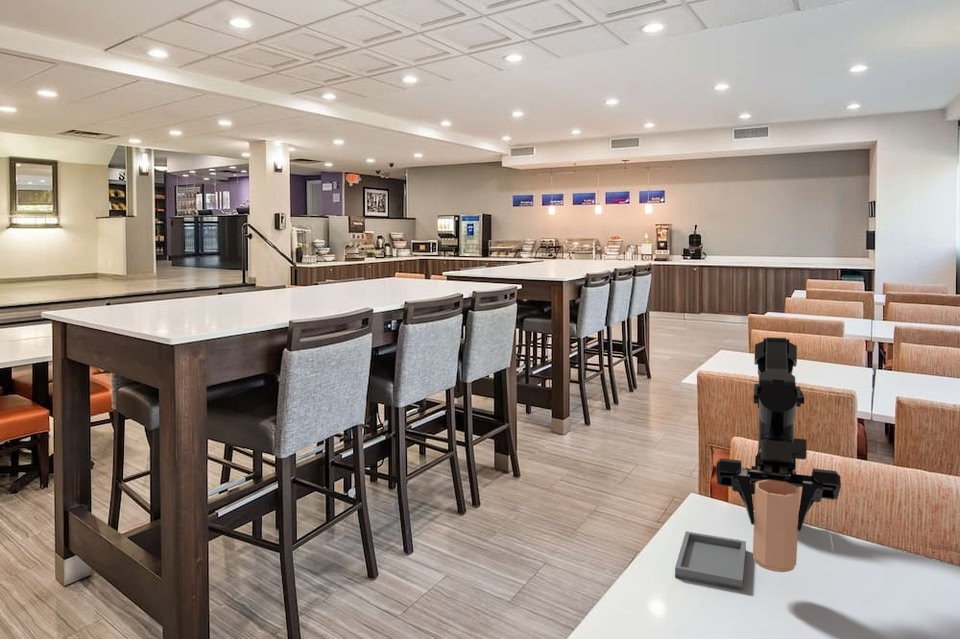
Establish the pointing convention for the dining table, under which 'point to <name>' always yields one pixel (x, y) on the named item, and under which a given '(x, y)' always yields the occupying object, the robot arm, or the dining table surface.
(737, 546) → the tray
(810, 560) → the dining table surface
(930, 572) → the dining table surface
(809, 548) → the dining table surface
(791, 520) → the cup
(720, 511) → the dining table surface
